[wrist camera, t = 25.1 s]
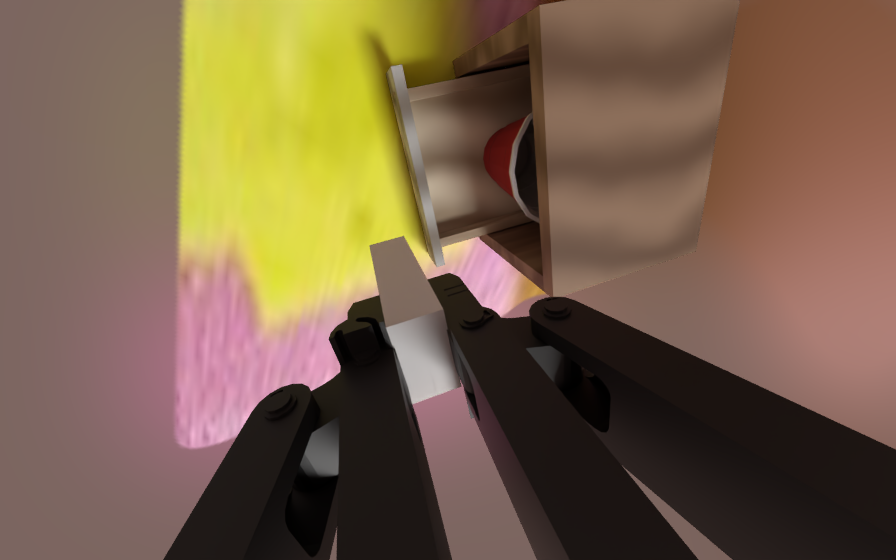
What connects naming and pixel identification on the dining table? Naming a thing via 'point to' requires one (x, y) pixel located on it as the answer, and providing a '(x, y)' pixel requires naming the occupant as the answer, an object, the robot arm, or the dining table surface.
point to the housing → (613, 132)
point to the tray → (459, 151)
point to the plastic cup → (515, 163)
